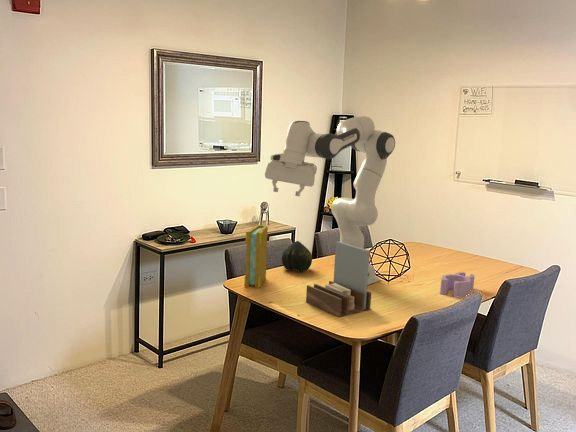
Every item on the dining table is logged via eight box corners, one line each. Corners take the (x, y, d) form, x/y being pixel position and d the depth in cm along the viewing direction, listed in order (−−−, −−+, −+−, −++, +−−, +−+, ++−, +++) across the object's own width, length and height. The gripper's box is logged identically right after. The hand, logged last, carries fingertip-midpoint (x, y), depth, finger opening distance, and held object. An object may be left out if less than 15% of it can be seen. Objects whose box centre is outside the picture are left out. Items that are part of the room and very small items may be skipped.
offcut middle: (332, 294, 239) (333, 289, 239) (354, 303, 230) (354, 296, 230) (324, 297, 236) (324, 291, 235) (345, 305, 227) (345, 299, 227)
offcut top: (334, 289, 239) (335, 283, 238) (350, 295, 231) (350, 289, 230) (325, 290, 236) (325, 284, 236) (340, 297, 228) (341, 291, 227)
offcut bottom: (330, 299, 241) (331, 293, 240) (354, 309, 230) (354, 303, 229) (321, 301, 238) (322, 295, 237) (345, 311, 227) (345, 305, 226)
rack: (336, 298, 248) (337, 279, 246) (371, 312, 231) (373, 292, 230) (303, 305, 237) (304, 285, 235) (338, 321, 221) (339, 300, 219)
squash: (295, 265, 276) (308, 239, 281) (272, 260, 285) (285, 235, 291) (309, 280, 285) (321, 255, 291) (286, 275, 295) (298, 250, 300)
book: (258, 287, 257) (260, 232, 253) (244, 286, 259) (245, 231, 254) (267, 277, 274) (269, 225, 269) (254, 276, 275) (255, 224, 270)
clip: (454, 284, 276) (456, 270, 275) (479, 290, 268) (481, 276, 267) (434, 293, 261) (436, 278, 260) (460, 299, 253) (462, 284, 252)
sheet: (335, 296, 245) (338, 241, 241) (365, 309, 231) (369, 250, 227) (332, 297, 244) (335, 241, 240) (362, 309, 230) (366, 251, 226)
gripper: (319, 165, 231) (313, 199, 231) (272, 157, 238) (265, 190, 238) (315, 163, 225) (308, 197, 225) (267, 154, 232) (260, 188, 232)
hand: (286, 194), depth 232 cm, fingers open, 8 cm apart
